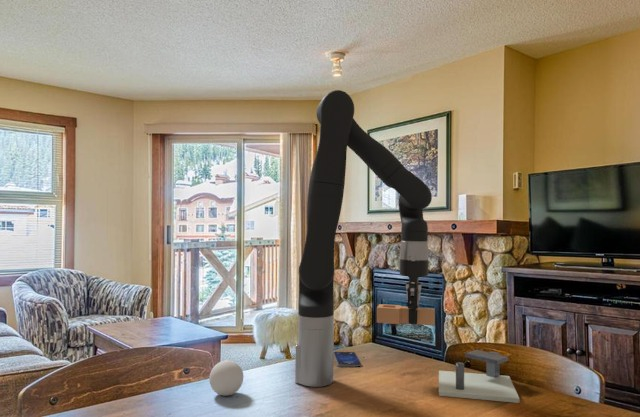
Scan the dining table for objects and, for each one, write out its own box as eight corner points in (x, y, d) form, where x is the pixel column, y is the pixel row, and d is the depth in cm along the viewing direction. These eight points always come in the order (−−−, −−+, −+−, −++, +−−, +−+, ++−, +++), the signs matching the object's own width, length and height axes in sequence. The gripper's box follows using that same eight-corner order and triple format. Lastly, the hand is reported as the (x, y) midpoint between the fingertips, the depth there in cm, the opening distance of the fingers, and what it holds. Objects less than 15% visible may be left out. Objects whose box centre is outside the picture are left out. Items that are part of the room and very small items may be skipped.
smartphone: (355, 351, 151) (363, 365, 137) (355, 354, 151) (362, 368, 136) (332, 351, 151) (337, 365, 136) (332, 354, 151) (337, 368, 136)
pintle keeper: (455, 393, 115) (455, 364, 116) (454, 373, 131) (453, 348, 131) (514, 398, 112) (514, 368, 112) (505, 378, 127) (505, 351, 128)
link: (434, 322, 129) (434, 307, 129) (434, 326, 123) (434, 311, 124) (379, 318, 133) (379, 304, 133) (376, 322, 127) (376, 307, 127)
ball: (233, 402, 108) (234, 367, 109) (202, 398, 111) (203, 363, 111) (248, 391, 116) (249, 357, 116) (219, 387, 118) (220, 355, 119)
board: (438, 395, 114) (438, 391, 114) (438, 374, 130) (438, 370, 130) (519, 402, 109) (519, 398, 109) (509, 379, 126) (509, 376, 126)
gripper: (401, 256, 136) (401, 317, 135) (397, 259, 122) (396, 326, 122) (428, 257, 134) (428, 318, 134) (427, 260, 121) (426, 329, 120)
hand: (413, 322), depth 128 cm, fingers closed on link, 3 cm apart
